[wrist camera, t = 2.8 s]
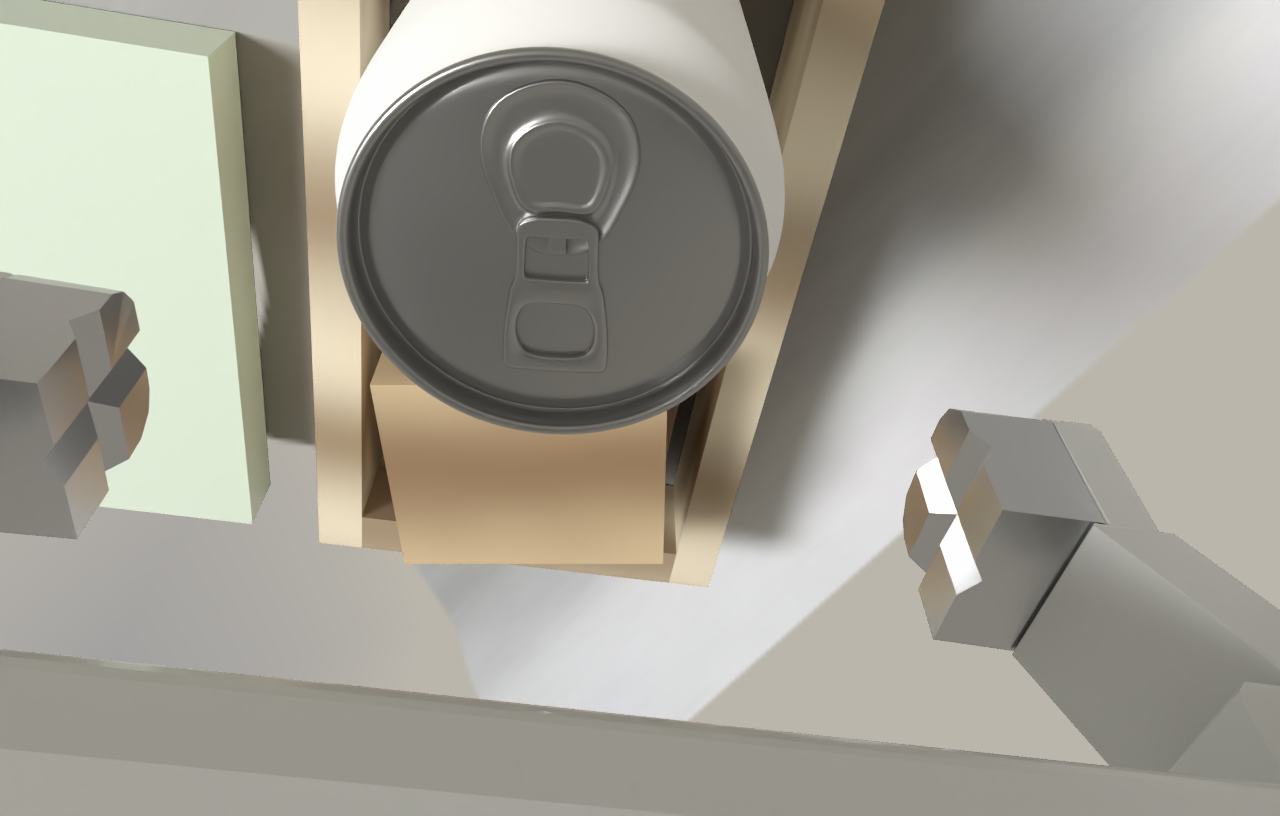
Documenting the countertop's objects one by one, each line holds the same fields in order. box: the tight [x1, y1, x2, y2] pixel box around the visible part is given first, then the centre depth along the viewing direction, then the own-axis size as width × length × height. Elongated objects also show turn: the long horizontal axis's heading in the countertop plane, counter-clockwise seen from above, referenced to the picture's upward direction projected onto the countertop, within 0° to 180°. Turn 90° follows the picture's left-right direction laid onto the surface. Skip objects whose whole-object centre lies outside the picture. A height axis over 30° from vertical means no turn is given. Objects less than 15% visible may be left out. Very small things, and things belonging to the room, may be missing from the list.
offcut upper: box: [370, 353, 667, 564], centre depth 25 cm, size 6×7×3 cm
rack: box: [298, 0, 885, 587], centre depth 24 cm, size 20×11×3 cm, turn 171°
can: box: [335, 0, 785, 435], centre depth 18 cm, size 6×6×12 cm
